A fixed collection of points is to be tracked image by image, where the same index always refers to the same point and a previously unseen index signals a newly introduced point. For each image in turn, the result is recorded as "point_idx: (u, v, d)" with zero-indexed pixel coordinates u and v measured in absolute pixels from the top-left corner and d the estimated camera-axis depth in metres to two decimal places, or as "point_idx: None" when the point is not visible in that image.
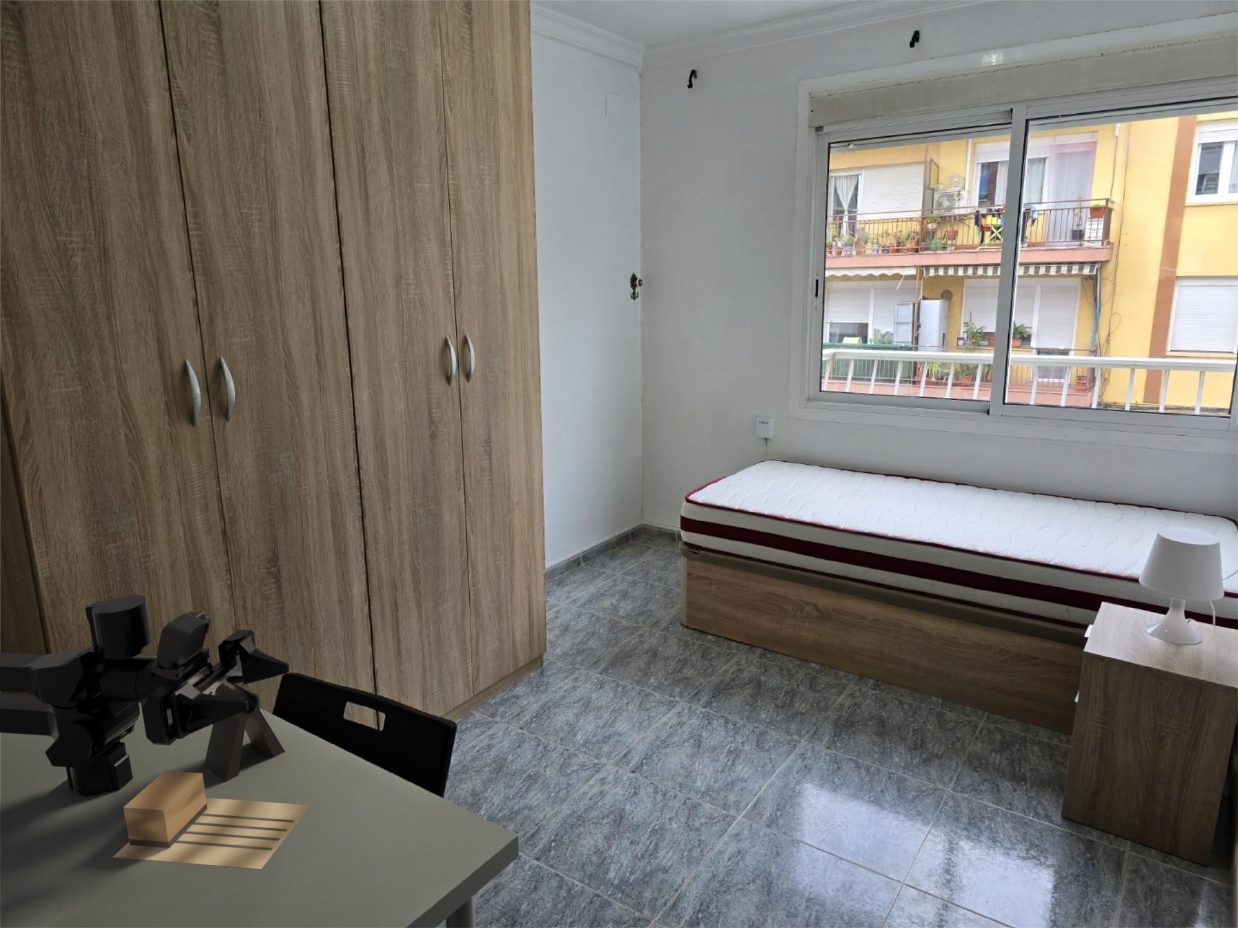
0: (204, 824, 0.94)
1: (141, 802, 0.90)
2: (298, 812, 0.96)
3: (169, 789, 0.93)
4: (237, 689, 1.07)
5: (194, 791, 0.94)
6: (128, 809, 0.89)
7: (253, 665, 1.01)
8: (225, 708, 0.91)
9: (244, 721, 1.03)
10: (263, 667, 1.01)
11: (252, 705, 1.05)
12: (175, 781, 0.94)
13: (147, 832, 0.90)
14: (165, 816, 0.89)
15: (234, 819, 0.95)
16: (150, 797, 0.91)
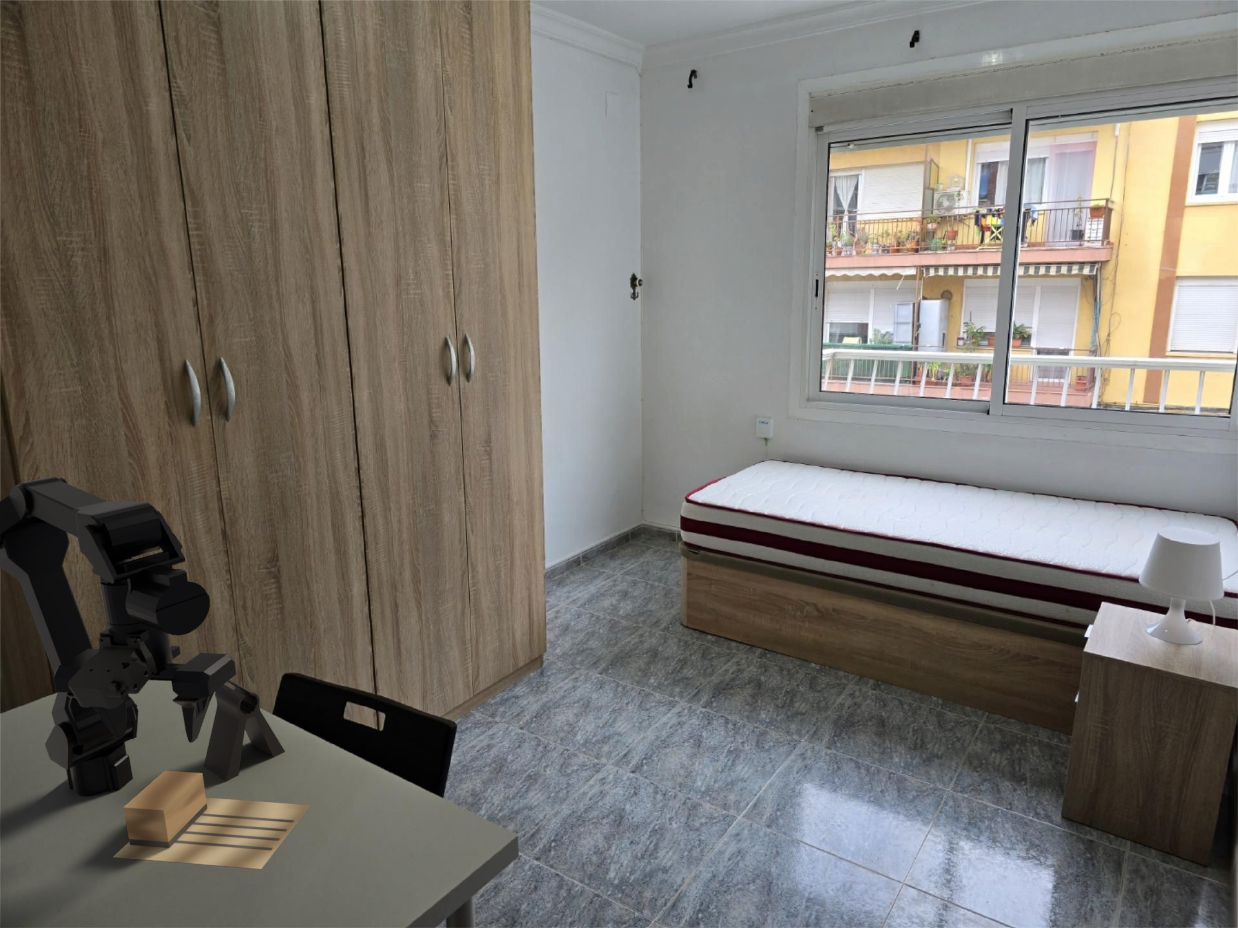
0: (204, 824, 0.94)
1: (141, 802, 0.90)
2: (298, 812, 0.96)
3: (169, 789, 0.93)
4: (237, 689, 1.07)
5: (194, 791, 0.94)
6: (128, 809, 0.89)
7: None
8: None
9: (244, 721, 1.03)
10: None
11: (252, 705, 1.05)
12: (175, 781, 0.94)
13: (147, 832, 0.90)
14: (165, 816, 0.89)
15: (234, 819, 0.95)
16: (150, 797, 0.91)
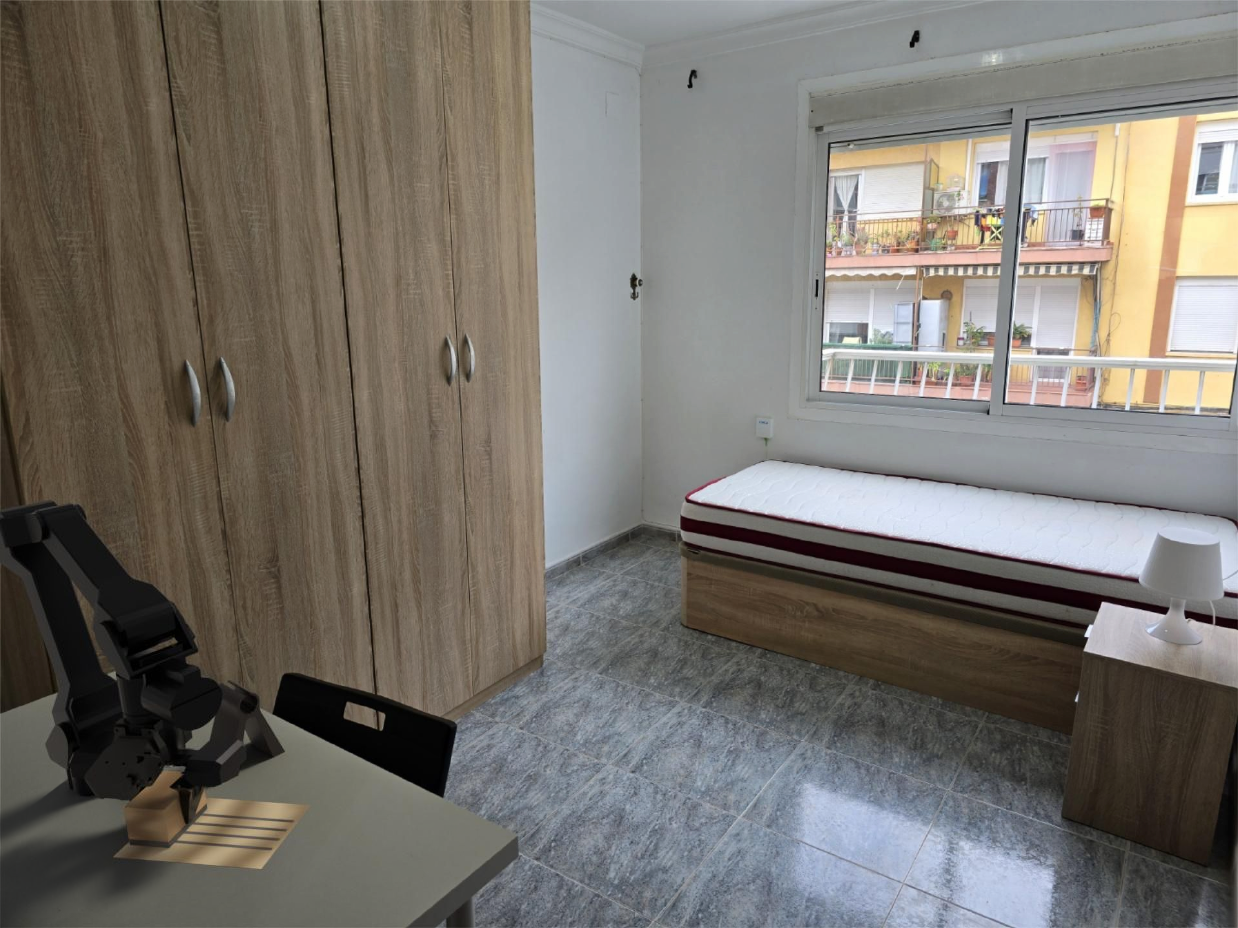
0: (204, 824, 0.94)
1: (141, 802, 0.90)
2: (298, 812, 0.96)
3: (169, 789, 0.93)
4: (237, 689, 1.07)
5: None
6: (128, 809, 0.89)
7: None
8: None
9: (244, 721, 1.03)
10: None
11: (252, 705, 1.05)
12: None
13: (147, 832, 0.90)
14: (165, 816, 0.89)
15: (234, 819, 0.95)
16: (150, 797, 0.91)
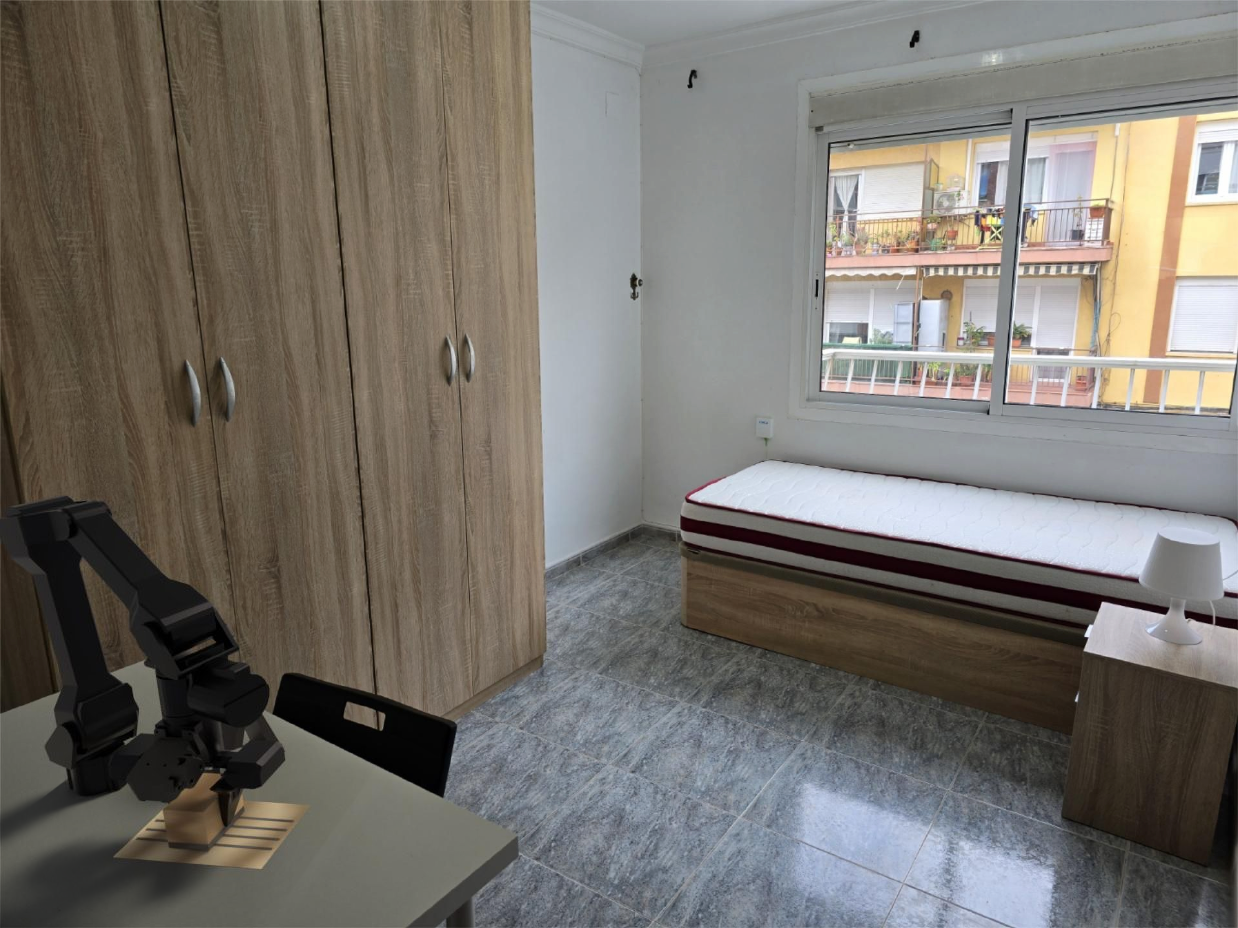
0: None
1: (179, 804, 0.89)
2: (298, 812, 0.96)
3: (207, 791, 0.92)
4: None
5: None
6: (167, 811, 0.89)
7: None
8: None
9: None
10: None
11: None
12: (213, 783, 0.93)
13: (186, 834, 0.89)
14: (204, 818, 0.88)
15: None
16: (188, 800, 0.90)
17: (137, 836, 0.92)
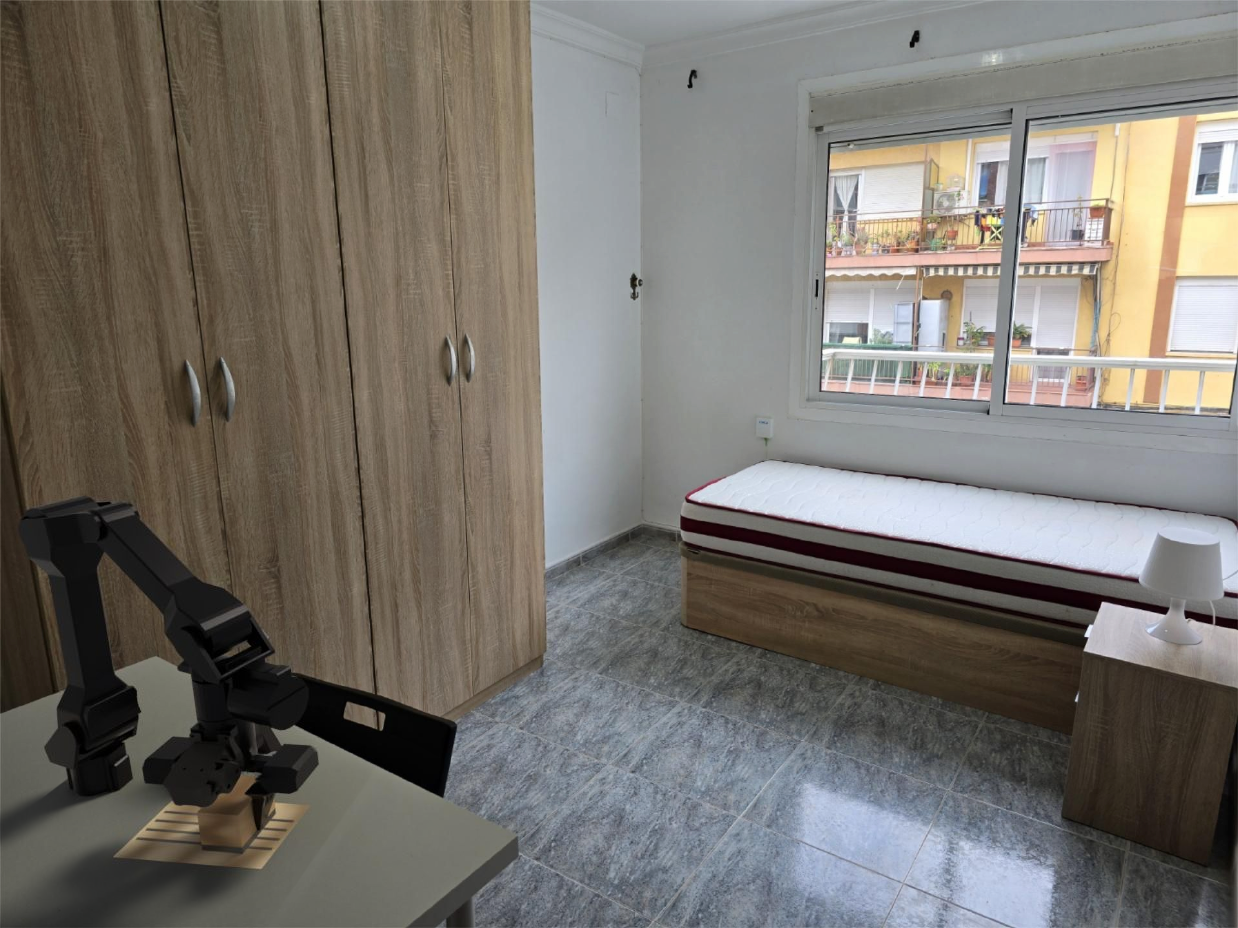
0: None
1: (214, 807, 0.89)
2: (298, 812, 0.96)
3: (240, 793, 0.92)
4: None
5: None
6: (201, 814, 0.88)
7: None
8: None
9: None
10: None
11: None
12: (245, 785, 0.93)
13: (220, 837, 0.89)
14: (239, 821, 0.88)
15: None
16: (222, 802, 0.90)
17: (137, 836, 0.92)
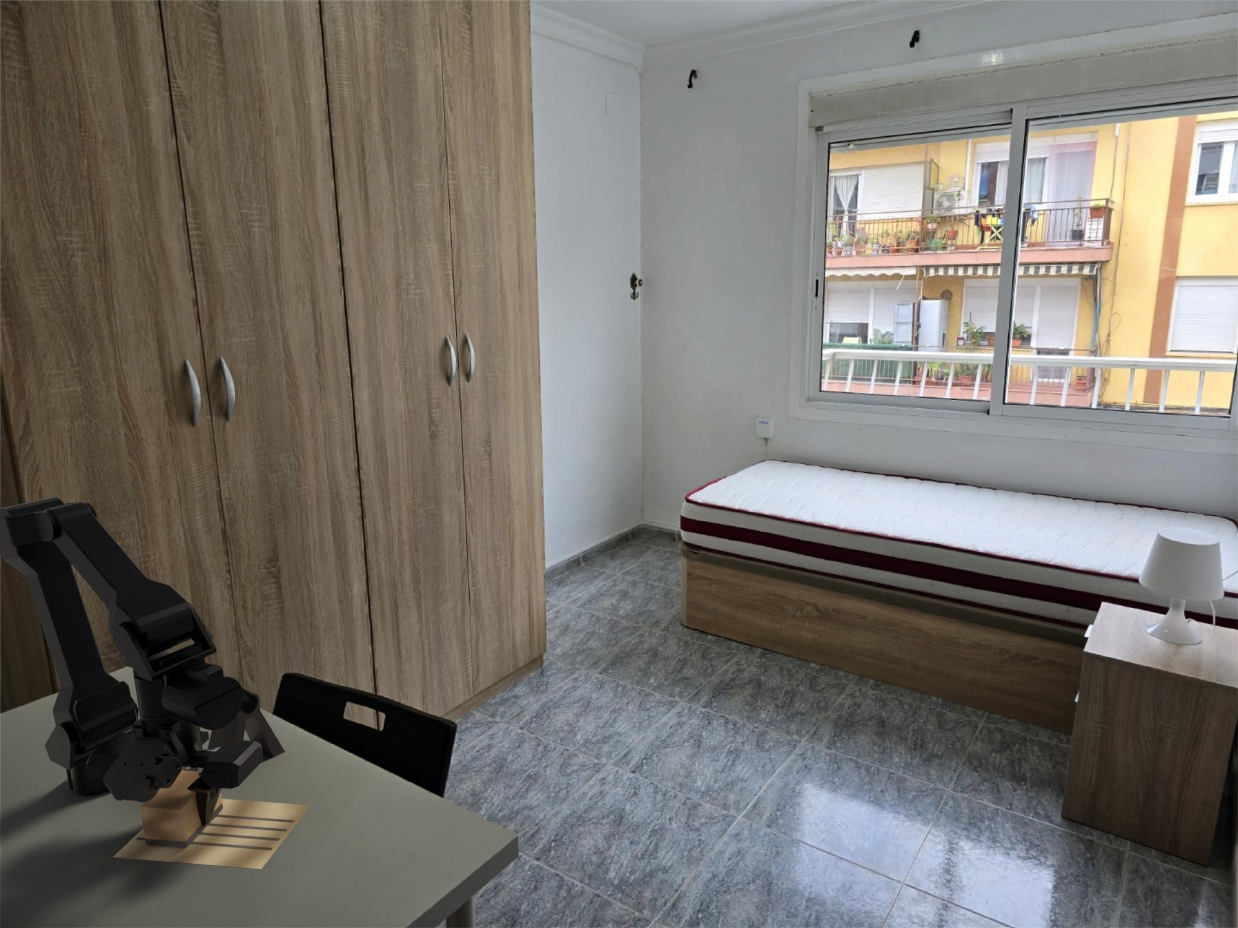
0: None
1: (157, 801, 0.90)
2: (298, 812, 0.96)
3: (185, 788, 0.92)
4: None
5: None
6: (145, 808, 0.89)
7: None
8: None
9: (244, 721, 1.03)
10: None
11: (252, 705, 1.05)
12: (191, 780, 0.94)
13: (164, 832, 0.89)
14: (182, 815, 0.89)
15: (234, 819, 0.95)
16: (166, 797, 0.91)
17: (137, 836, 0.92)
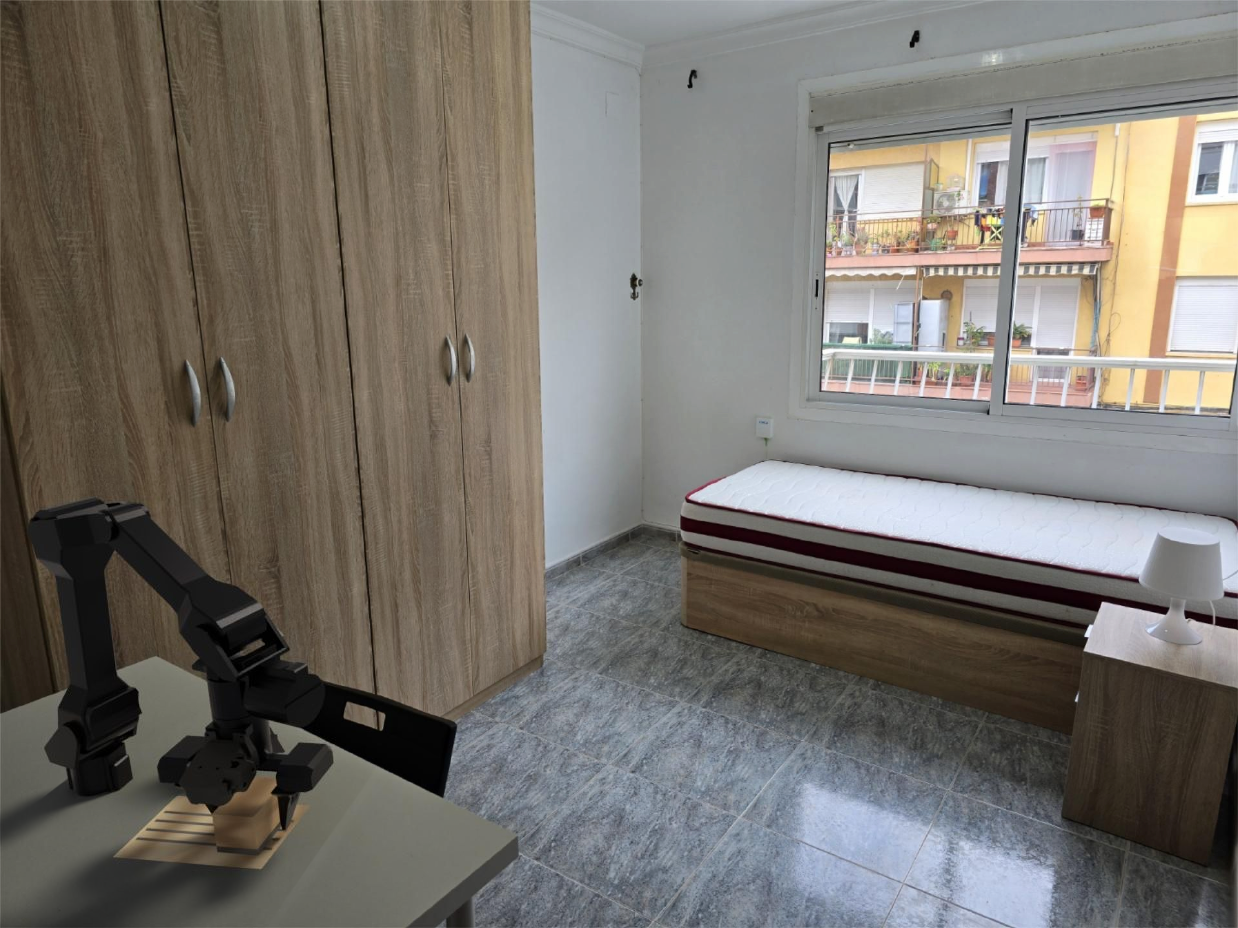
0: (204, 824, 0.94)
1: (228, 809, 0.89)
2: (298, 812, 0.96)
3: (255, 795, 0.91)
4: None
5: None
6: (217, 816, 0.88)
7: None
8: None
9: None
10: None
11: None
12: (260, 787, 0.93)
13: (235, 839, 0.89)
14: (254, 823, 0.88)
15: None
16: (237, 804, 0.90)
17: (137, 836, 0.92)
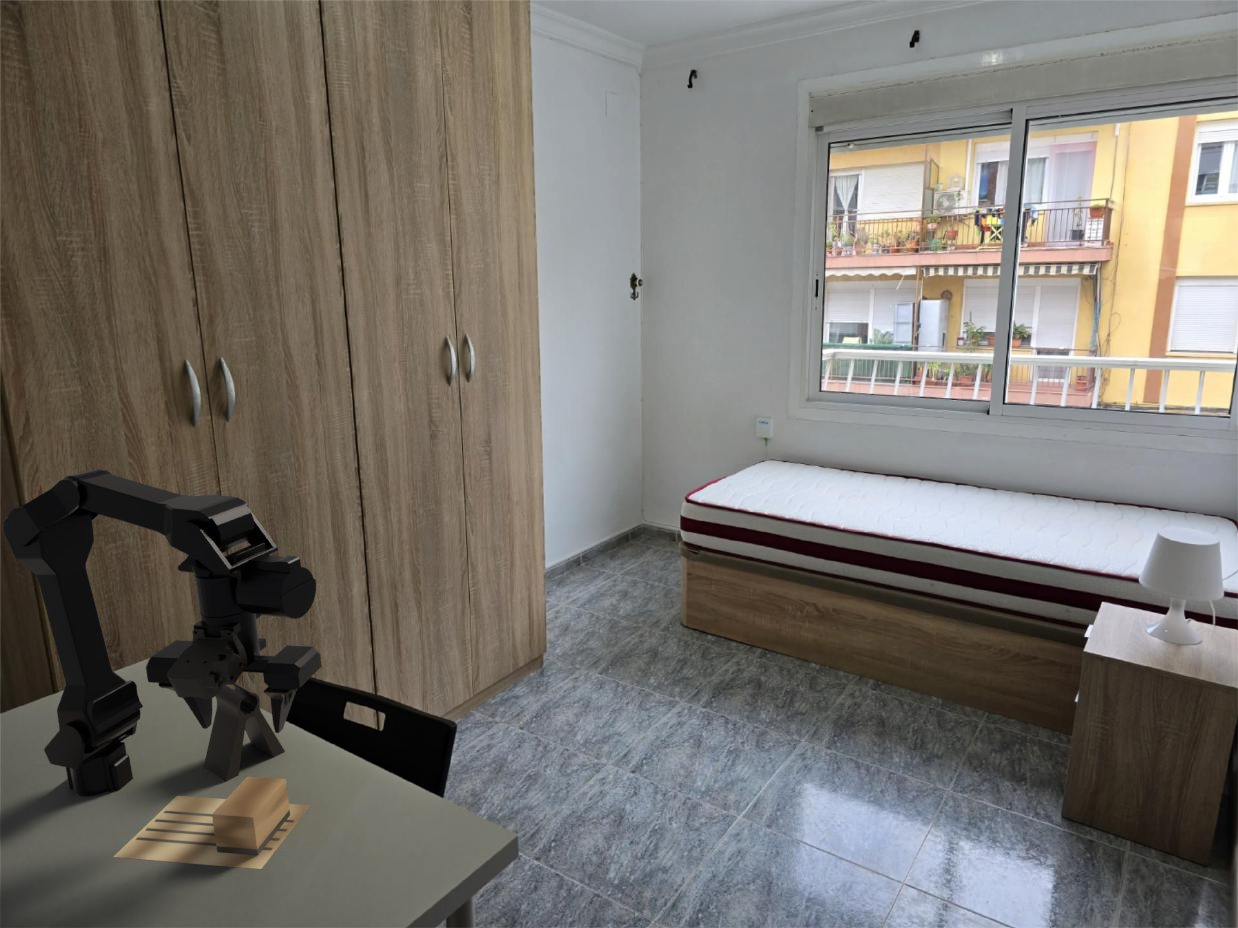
0: (204, 824, 0.94)
1: (228, 809, 0.89)
2: (298, 812, 0.96)
3: (255, 795, 0.91)
4: (237, 689, 1.07)
5: (279, 797, 0.93)
6: (217, 816, 0.88)
7: None
8: None
9: (244, 721, 1.03)
10: None
11: (252, 705, 1.05)
12: (260, 787, 0.93)
13: (235, 839, 0.89)
14: (254, 823, 0.88)
15: None
16: (237, 804, 0.90)
17: (137, 836, 0.92)
